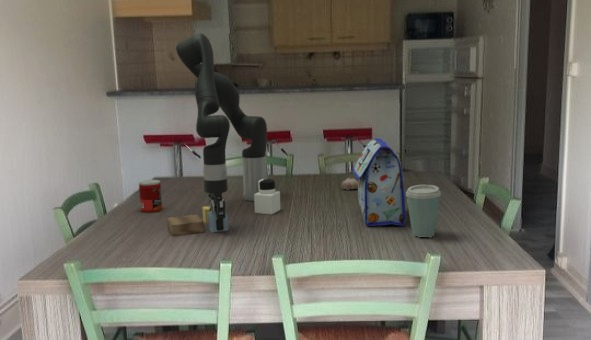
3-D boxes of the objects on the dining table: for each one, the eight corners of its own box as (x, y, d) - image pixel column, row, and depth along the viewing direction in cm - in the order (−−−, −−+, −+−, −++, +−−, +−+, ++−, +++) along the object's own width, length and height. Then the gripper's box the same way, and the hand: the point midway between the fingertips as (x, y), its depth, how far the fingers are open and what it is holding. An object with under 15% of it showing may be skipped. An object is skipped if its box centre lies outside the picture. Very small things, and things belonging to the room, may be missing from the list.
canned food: (157, 212, 209) (155, 183, 207) (137, 212, 211) (134, 183, 209) (165, 207, 217) (163, 179, 215) (146, 207, 218) (144, 179, 216)
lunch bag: (351, 210, 205) (351, 137, 201) (397, 209, 205) (398, 136, 200) (358, 228, 183) (357, 146, 178) (409, 227, 183) (410, 145, 178)
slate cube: (224, 226, 189) (223, 210, 188) (228, 230, 184) (227, 214, 183) (208, 228, 187) (207, 212, 186) (211, 232, 182) (210, 216, 181)
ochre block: (215, 219, 199) (215, 205, 198) (218, 222, 194) (218, 208, 194) (203, 220, 197) (202, 206, 196) (205, 223, 193) (205, 209, 192)
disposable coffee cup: (433, 242, 166) (434, 192, 164) (399, 237, 172) (399, 189, 169) (445, 233, 175) (446, 185, 173) (411, 228, 181) (412, 182, 178)
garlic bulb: (362, 188, 243) (362, 170, 241) (354, 191, 237) (354, 173, 235) (346, 186, 247) (346, 168, 245) (338, 190, 241) (338, 171, 239)
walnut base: (197, 224, 192) (197, 214, 192) (203, 232, 183) (203, 221, 182) (167, 227, 189) (167, 217, 188) (172, 235, 179) (171, 225, 179)
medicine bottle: (280, 210, 209) (279, 178, 207) (271, 214, 202) (270, 182, 200) (263, 208, 212) (262, 177, 210) (254, 213, 205) (253, 180, 203)
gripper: (232, 180, 177) (234, 232, 180) (221, 172, 190) (223, 221, 193) (208, 182, 175) (211, 235, 178) (199, 174, 188) (202, 223, 191)
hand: (217, 227), depth 185 cm, fingers closed on slate cube, 5 cm apart
